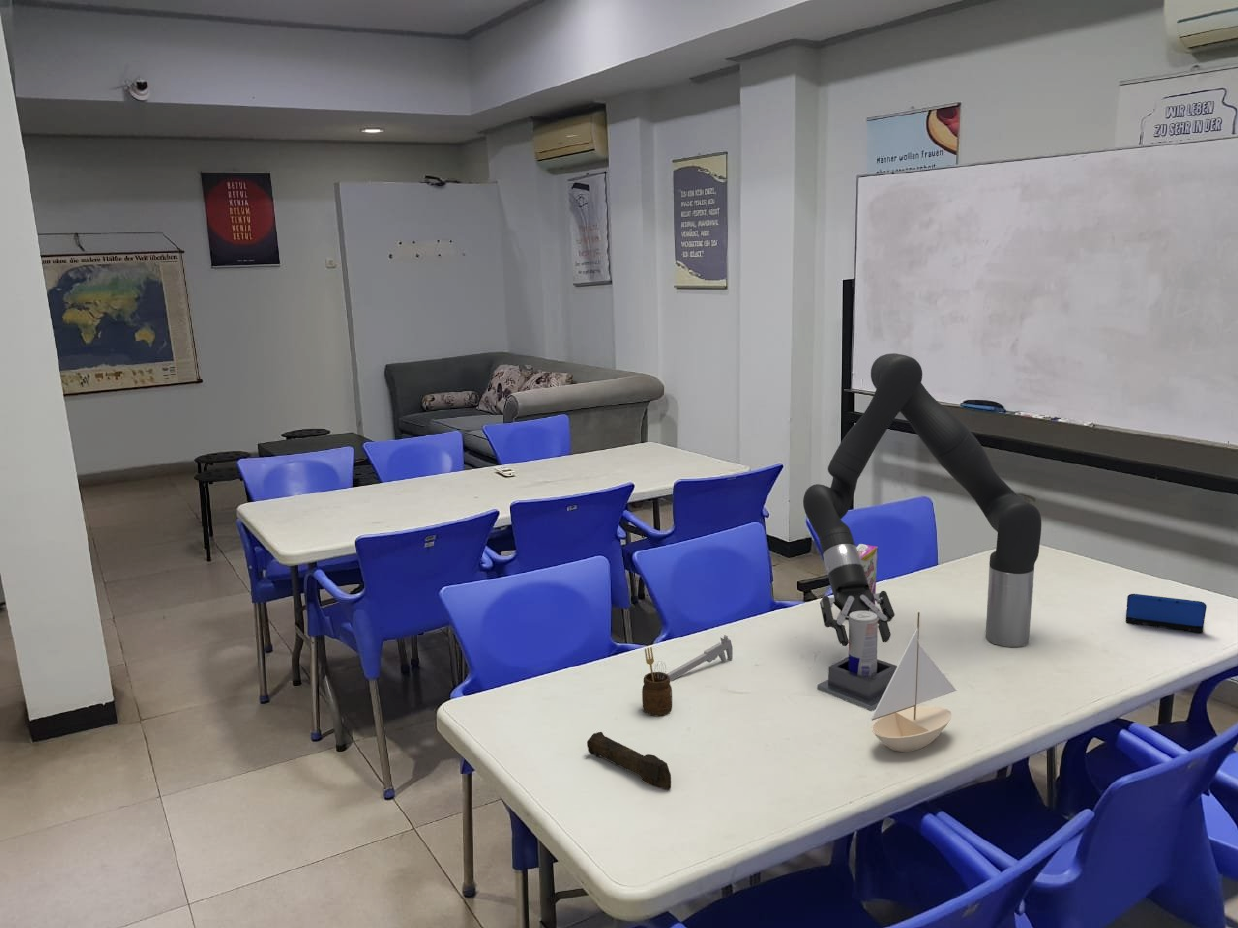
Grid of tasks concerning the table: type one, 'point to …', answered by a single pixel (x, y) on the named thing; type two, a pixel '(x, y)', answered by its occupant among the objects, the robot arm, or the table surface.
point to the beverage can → (863, 643)
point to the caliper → (706, 657)
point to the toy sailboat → (912, 702)
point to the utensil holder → (656, 690)
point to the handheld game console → (1166, 613)
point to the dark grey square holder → (858, 683)
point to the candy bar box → (868, 565)
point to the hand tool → (631, 760)
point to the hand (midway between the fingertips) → (866, 642)
